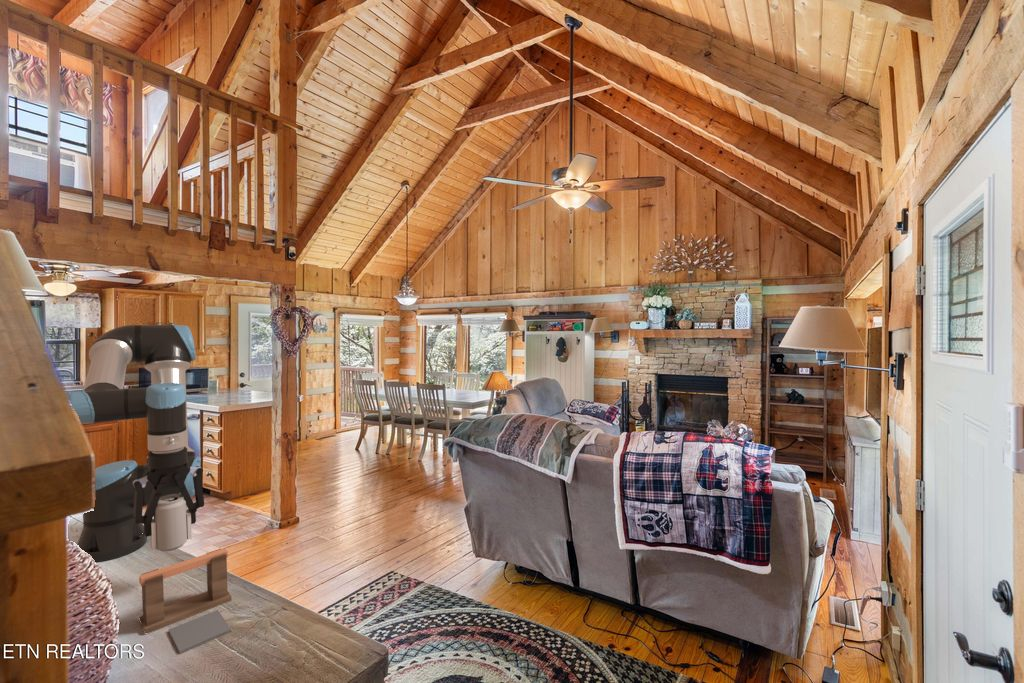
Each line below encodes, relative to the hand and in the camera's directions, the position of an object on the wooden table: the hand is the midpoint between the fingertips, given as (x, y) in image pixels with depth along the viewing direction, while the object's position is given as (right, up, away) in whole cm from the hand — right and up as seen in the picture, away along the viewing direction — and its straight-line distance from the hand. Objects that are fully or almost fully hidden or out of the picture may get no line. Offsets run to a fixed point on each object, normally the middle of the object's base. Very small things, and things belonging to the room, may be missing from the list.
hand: (171, 542), depth 113 cm
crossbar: (+10, -2, -9) cm, 13 cm away
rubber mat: (+17, -12, -15) cm, 26 cm away
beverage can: (0, -1, 0) cm, 1 cm away
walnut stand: (+10, -12, -8) cm, 17 cm away
